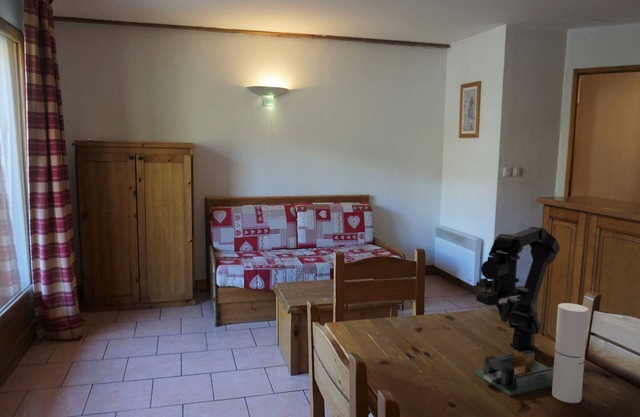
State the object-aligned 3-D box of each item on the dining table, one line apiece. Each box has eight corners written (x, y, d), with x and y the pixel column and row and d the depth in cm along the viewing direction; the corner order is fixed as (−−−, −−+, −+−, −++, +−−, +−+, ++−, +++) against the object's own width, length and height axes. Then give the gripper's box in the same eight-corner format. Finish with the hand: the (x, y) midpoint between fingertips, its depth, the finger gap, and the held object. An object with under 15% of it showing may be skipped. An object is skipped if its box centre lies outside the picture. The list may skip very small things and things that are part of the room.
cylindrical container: (546, 390, 136) (552, 303, 133) (571, 389, 136) (577, 302, 134) (561, 403, 129) (567, 311, 126) (587, 402, 129) (594, 311, 126)
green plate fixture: (530, 362, 154) (531, 343, 153) (568, 381, 141) (569, 361, 140) (474, 374, 146) (475, 354, 145) (509, 395, 133) (510, 374, 132)
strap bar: (519, 369, 146) (520, 351, 145) (531, 375, 142) (532, 357, 141) (482, 377, 140) (483, 359, 140) (493, 383, 136) (494, 365, 136)
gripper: (510, 266, 165) (508, 310, 167) (465, 271, 158) (463, 317, 160) (536, 273, 155) (533, 321, 156) (490, 279, 147) (487, 329, 149)
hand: (504, 321), depth 156 cm, fingers closed
